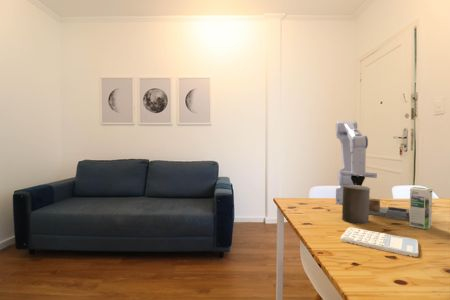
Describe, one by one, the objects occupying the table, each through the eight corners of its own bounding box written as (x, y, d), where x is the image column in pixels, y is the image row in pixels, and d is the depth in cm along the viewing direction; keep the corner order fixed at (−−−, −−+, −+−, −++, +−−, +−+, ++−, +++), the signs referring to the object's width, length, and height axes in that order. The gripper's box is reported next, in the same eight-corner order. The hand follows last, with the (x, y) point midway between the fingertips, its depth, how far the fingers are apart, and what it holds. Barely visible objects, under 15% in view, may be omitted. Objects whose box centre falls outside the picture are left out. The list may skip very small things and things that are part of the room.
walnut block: (368, 210, 111) (368, 199, 111) (369, 208, 115) (369, 198, 115) (378, 211, 109) (379, 201, 109) (379, 209, 112) (380, 199, 112)
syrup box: (408, 226, 96) (409, 187, 96) (413, 223, 100) (414, 186, 99) (427, 230, 92) (428, 190, 91) (431, 226, 95) (432, 188, 95)
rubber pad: (375, 210, 119) (375, 209, 119) (376, 207, 125) (376, 206, 125) (393, 212, 115) (393, 211, 115) (393, 209, 121) (393, 208, 121)
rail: (357, 214, 112) (357, 206, 112) (360, 210, 118) (360, 203, 118) (409, 222, 101) (409, 213, 101) (409, 217, 107) (409, 209, 107)
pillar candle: (341, 221, 101) (342, 184, 101) (342, 215, 110) (343, 180, 109) (369, 225, 97) (370, 186, 96) (368, 218, 105) (369, 182, 105)
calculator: (348, 231, 92) (348, 225, 92) (417, 244, 80) (418, 238, 80) (339, 242, 81) (339, 236, 81) (418, 259, 69) (418, 252, 69)
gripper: (338, 162, 116) (338, 192, 116) (375, 163, 107) (375, 196, 108) (342, 161, 122) (342, 189, 122) (377, 163, 113) (377, 193, 113)
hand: (357, 192), depth 115 cm, fingers closed
